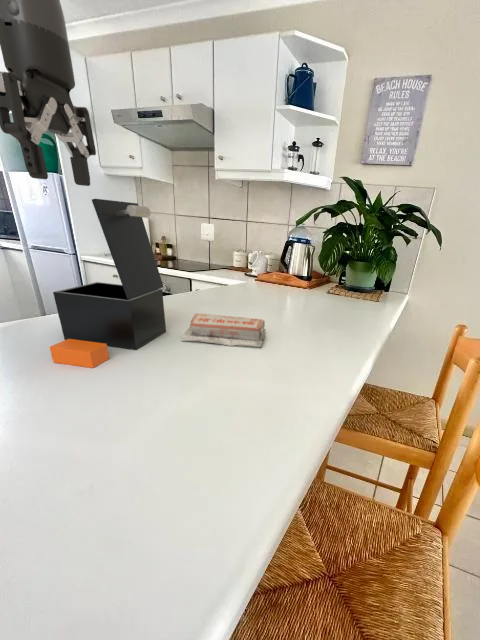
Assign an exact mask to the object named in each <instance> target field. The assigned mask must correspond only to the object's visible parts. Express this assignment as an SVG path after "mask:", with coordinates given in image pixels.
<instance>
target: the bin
mask: <svg viewBox="0 0 480 640" xmlns="http://www.w3.org/2000/svg"><path fill="white" fill-rule="evenodd" d="M52 293H53V298H54V302H55V305H56V306H55V307H56V310H57V314H58V319H59V322H60V326H61V331H62V335H63V338H64V340H67V339H75V340H82V341H90V342H98V343H105V344H107V347H110V348H111V347H112V348H118V349H127V350H133V351H137V350H139V349H140V348H142V347H143V346H145V345H147V344H149V343H151V342H152V341H154V340H156V339H158V338H159V337H160V336H162V335H163V334H165V333H166V332H167V324H166V315H165V305H164V303H165V302H164V294H163V293H164V292H163V289H162V288H160V289H157V290H154V291H151V292H148V293H145V294H142V295H139V296H136V297H134V298H130V299H127V297H126V294H125V291H124V288H123V286H122V284H118V283H109V282H100V281H95V282H91V283H87V284H83V285H77V286H73V287H70V288H69V287H68V288H65V289H60V290H55V291H53V292H52Z"/></svg>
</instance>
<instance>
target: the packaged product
mask: <svg viewBox="0 0 480 640" xmlns="http://www.w3.org/2000/svg"><path fill="white" fill-rule="evenodd" d="M265 326H266V324H265V320H264V319H261V318H251V317H243V316H232V315H231V316H230V315H221V314H210V313H194V314H193V316H192V318H191V320H190V323H189V327H188V328H187V329H186V330H185V331H184V332H183V333H182V335H180V341H181V342H198V343H200V342H201V343H209V344H217V345H224V346H229V347H230V346H231V347H232V346H233V347H234V346H237V347H239V346H240V347H249V348H251V347H252V348H261V347H262V346H263V343H264V341H265V337H266V333H267V331H266V328H265Z"/></svg>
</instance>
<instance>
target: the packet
mask: <svg viewBox="0 0 480 640" xmlns="http://www.w3.org/2000/svg"><path fill="white" fill-rule="evenodd" d="M49 351H50V354H51V358H52V359H51V360H52V362H53V363H54V364H61V365H69V366H74V367H75V366H76V367H83V368H90V369H94V368H96V367H98V366H99V365H101V364H103V363H104V362H106V361H108V360H110V354H109V349H108V346H107V344H105V343H98V342H90V341H82V340H75V339H67V340H65V339H64V340H61V341H60V342H57V343H55V344H53V345H50V346H49Z"/></svg>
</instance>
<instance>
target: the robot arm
mask: <svg viewBox="0 0 480 640" xmlns="http://www.w3.org/2000/svg"><path fill="white" fill-rule="evenodd" d="M65 20H66V19H65V16H64V11H63V8H62V4H61V0H0V51H1V55H2V60H3V62H4V67H5V69H6V71H1V70H0V129H1V132H3V134H6V135H10V136H12V137H13V138H14V139H15V140H16V142H18V143H19V146H20V149H21V153H22V157H23V162H24V166H25V168H26V171H27V173H28V175H29V176H30V178H32V179H38V180H48V178H49V175H48V170H47V165H46V159H45V155H44V151H43V147H42V146H40V143H41V140H42V137H43V134H44V133H45V132H49V133H51V134H55V136H56V137H57V139H58V140H59V141H60V142H62V143H63V144H64V146H65V148H66V149H67V151H68V153H69V155H70V156H69V160H70V164H71V169H72V170H71V171H72V177H73V180H74V183H75V185H76V186H84V187H89V186H91V175H90V168H89V163H88V159H89V158H90V157H91V156H96V155H97V150H96V144H95V139H94V134H93V129H92V122H91V117H90V112H89V110H88V108H87V107H86V106H85V107H84V106H75V105H74V104H73V101H72V99H71V95H70V93H71V90H73V89H74V88H75V87H76V80H75V74H74V69H73V62H72V56H71V50H70V43H69V39H68V38H69V37H68V31H67V26H66V21H65ZM10 112H11V116H10ZM11 117H12V120H11ZM84 137H85V141H86V143H85V142H84V140H83V139H84ZM74 144H75V145H74ZM85 144H86V145H85Z"/></svg>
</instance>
